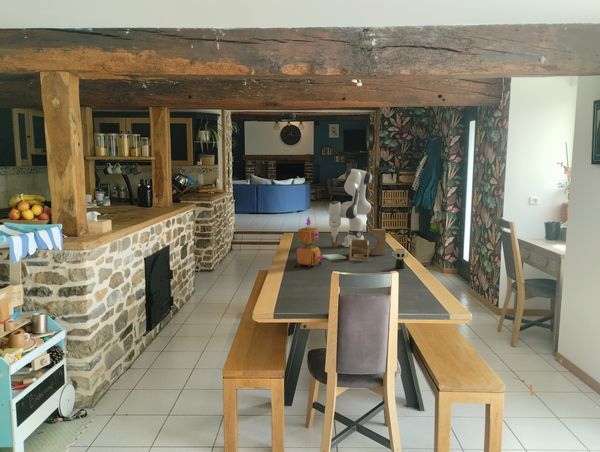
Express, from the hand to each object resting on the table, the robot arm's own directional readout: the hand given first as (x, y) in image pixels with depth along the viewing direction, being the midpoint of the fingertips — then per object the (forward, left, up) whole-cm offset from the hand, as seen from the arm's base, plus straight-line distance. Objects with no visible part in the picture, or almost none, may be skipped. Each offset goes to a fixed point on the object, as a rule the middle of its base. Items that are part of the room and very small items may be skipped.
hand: (334, 241), depth 375 cm
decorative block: (-1, +38, -13) cm, 40 cm away
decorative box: (+24, -28, -13) cm, 39 cm away
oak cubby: (+6, +18, -13) cm, 23 cm away
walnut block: (0, 0, -4) cm, 4 cm away
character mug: (+48, +28, -13) cm, 57 cm away
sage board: (0, 0, -13) cm, 13 cm away
